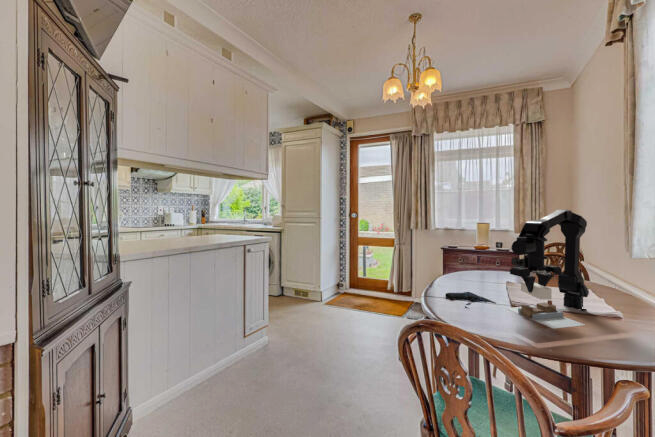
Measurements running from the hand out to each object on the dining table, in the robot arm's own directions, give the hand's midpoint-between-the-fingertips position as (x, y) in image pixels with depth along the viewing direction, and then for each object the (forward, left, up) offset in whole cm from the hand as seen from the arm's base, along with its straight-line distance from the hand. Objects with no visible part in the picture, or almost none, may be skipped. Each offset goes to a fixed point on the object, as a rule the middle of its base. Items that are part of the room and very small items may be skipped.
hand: (535, 292), depth 118 cm
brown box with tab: (-2, 0, -10) cm, 10 cm away
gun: (+11, -23, -11) cm, 28 cm away
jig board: (-2, +1, -11) cm, 11 cm away
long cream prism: (0, 0, -1) cm, 1 cm away
